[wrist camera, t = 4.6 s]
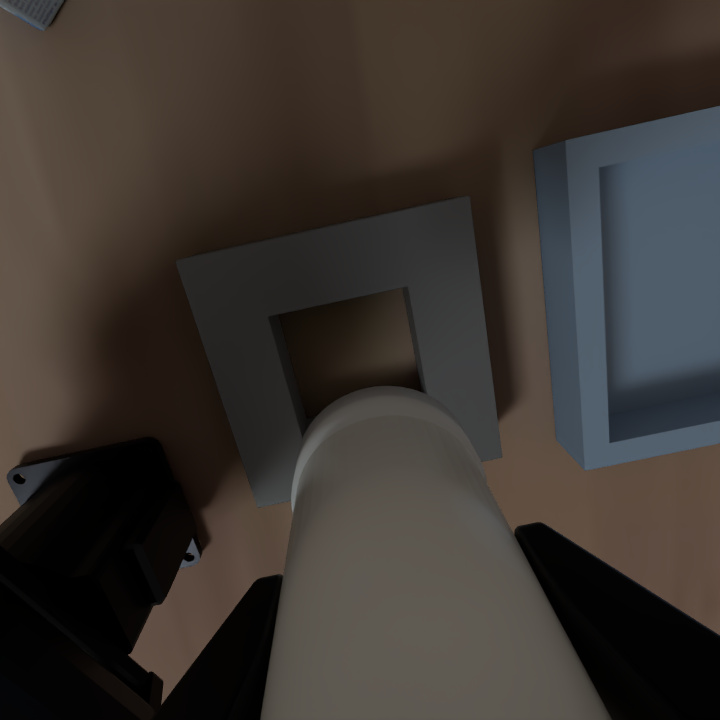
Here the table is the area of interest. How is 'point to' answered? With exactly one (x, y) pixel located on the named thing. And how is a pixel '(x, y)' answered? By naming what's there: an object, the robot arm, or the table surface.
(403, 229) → the grey flat square frame
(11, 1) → the medicine box
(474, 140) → the table surface
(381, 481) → the grey rounded piece
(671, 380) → the parts tray
